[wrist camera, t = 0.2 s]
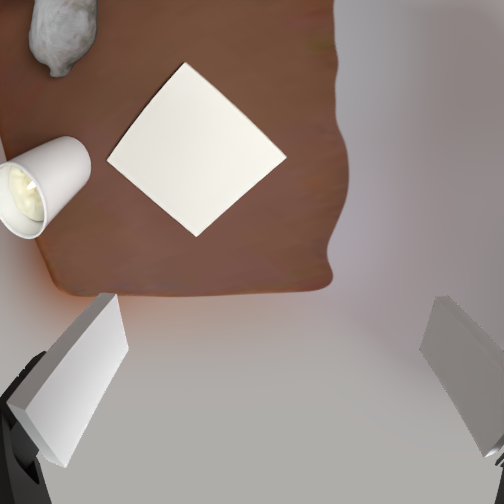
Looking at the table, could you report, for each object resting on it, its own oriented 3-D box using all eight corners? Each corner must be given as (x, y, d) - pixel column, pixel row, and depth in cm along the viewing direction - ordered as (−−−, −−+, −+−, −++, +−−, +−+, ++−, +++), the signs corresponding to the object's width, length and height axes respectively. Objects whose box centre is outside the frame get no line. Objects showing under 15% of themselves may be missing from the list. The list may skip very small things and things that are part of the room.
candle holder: (72, 116, 32) (12, 145, 22) (108, 174, 36) (59, 218, 27) (34, 154, 35) (-19, 190, 25) (67, 204, 39) (22, 250, 30)
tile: (186, 62, 28) (184, 62, 28) (286, 156, 34) (286, 157, 34) (108, 159, 35) (106, 160, 35) (197, 234, 41) (196, 236, 41)
